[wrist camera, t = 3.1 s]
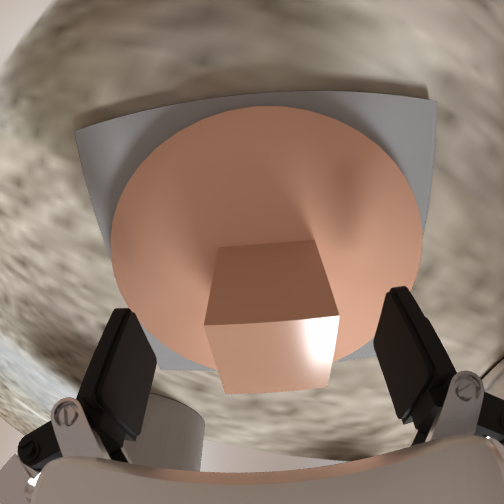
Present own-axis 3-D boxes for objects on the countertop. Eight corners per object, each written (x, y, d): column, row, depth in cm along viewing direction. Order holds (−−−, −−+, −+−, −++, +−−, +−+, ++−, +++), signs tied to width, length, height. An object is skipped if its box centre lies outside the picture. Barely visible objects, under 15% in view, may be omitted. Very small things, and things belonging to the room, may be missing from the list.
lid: (427, 109, 10) (516, 137, 5) (384, 349, 17) (408, 417, 13) (84, 139, 11) (-1, 181, 6) (165, 365, 18) (149, 434, 14)
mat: (429, 99, 10) (436, 101, 9) (387, 347, 18) (389, 353, 18) (80, 128, 11) (74, 131, 10) (162, 362, 19) (160, 369, 19)
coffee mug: (226, 424, 24) (220, 517, 16) (167, 440, 28) (155, 512, 19) (104, 356, 19) (64, 469, 11) (67, 385, 23) (37, 465, 14)
